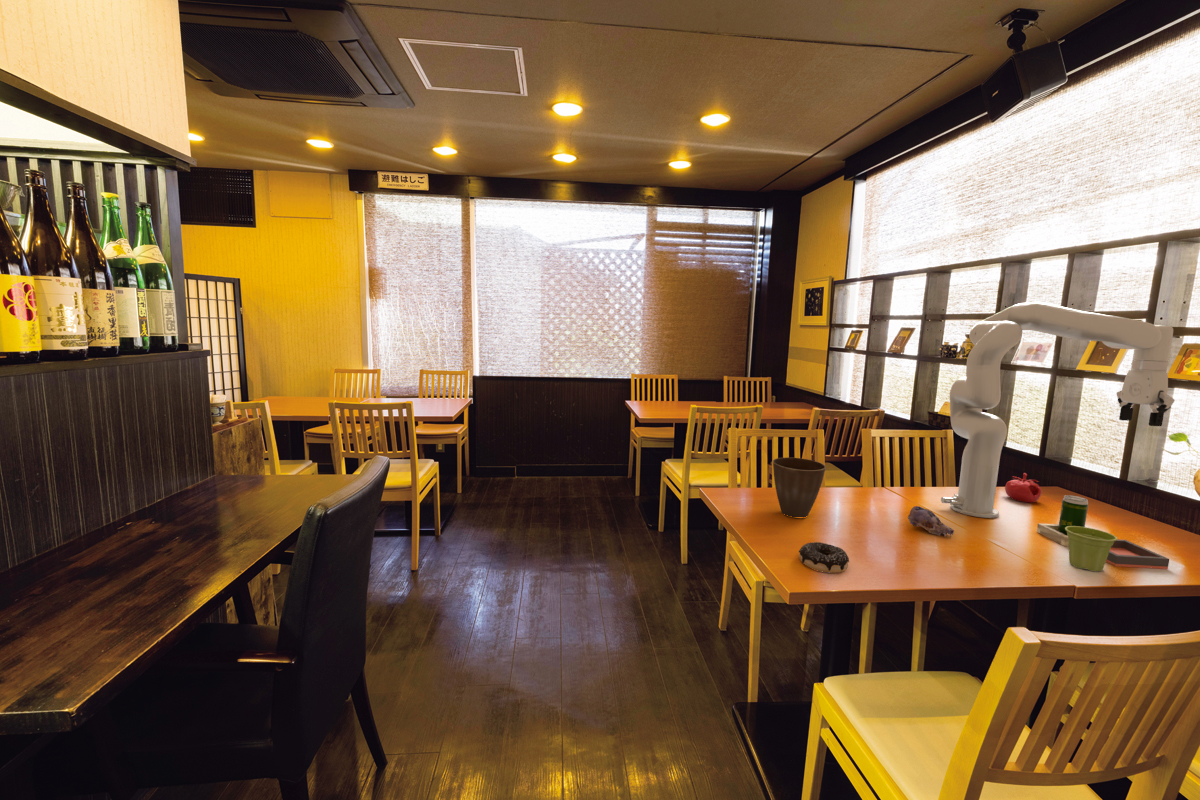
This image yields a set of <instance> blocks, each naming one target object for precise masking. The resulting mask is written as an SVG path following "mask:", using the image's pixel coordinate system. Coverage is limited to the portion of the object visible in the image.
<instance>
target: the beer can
mask: <svg viewBox="0 0 1200 800" xmlns="http://www.w3.org/2000/svg"><path fill="white" fill-rule="evenodd" d="M1060 508H1061V509H1060V514H1059V520H1058V521H1059V522H1058V524H1059V527H1058V532H1060V533H1063V534H1065V535H1067V531H1066V530H1065V527H1067V526H1080V527H1086V523H1087V522H1086V520H1087V516H1088V515H1087V514H1088V508H1089V500H1088V499H1087V498H1085V497H1082V496H1076V495H1070V494H1069V495H1068V494H1066V495H1063V498H1062V501H1061V507H1060Z"/></svg>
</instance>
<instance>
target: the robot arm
mask: <svg viewBox="0 0 1200 800" xmlns="http://www.w3.org/2000/svg"><path fill="white" fill-rule="evenodd" d="M1023 331H1034V332H1039V333H1043V334H1049V335H1052V336H1057V337H1060V338H1065V339H1070V340H1076V341H1084V342H1085V341H1087V342H1091V341H1092V342H1102V344H1103V345H1105V346H1107V347H1108V348H1111V349H1117V350H1119V349H1121V350H1133V354H1132V361H1131V363H1130V364H1131V367H1130V369H1129V370H1128V371H1127V373H1126V376H1125V378H1124V381H1123V383H1122V387H1121V388H1122V389H1121V390H1119V391H1117V392H1116V397H1117V402H1118V406H1119V407H1120V413H1119V418H1118V419H1119V421H1128V422H1129V421H1130V422H1131V421H1132V419H1133V415H1134V414H1133V413H1134V407H1133V406H1135V405H1142V406H1149V407H1150V408H1151V410H1152V411H1151V412H1150V413H1149V419H1148V426H1150V427H1162V426H1163V421H1164V415H1165V414H1166V413H1168V410H1170V409H1171V407H1172V405H1173V404H1174V403H1175V401H1176V400H1175V399H1174V398H1173V396H1170V395H1169V394H1168V389H1169V375H1168V374H1169V373H1168V372H1167V370H1168V364H1169V360H1170V354H1171V348H1172V343H1173V342H1172V341H1173V335H1174V328H1173V326H1170V325H1165V324H1164V325H1163V324H1153V323H1151V322H1147V321H1141V320H1137V319H1133V318H1128V317H1122V316H1116V315H1108V314H1103V313H1096V312H1089V311H1085V310H1080V309H1074V308H1070V307H1065V306H1062V305H1059V304H1058V305H1057V304H1052V303H1048V302H1042V301H1041V302H1040V301H1032V302H1020V303H1017V304H1013V305H1011V306H1009V307H1007V308H1005V309H1003V310H1001V311H999V312H997V313H995V314H992V315H990V316H989V317H986V318H985V319H983V320H981V321H979V322H977V323H976V324H974V325H973V327H972V328H971V330H970V331H969V334H968V335H969V341H970V342H971V343H972V344H973V345H974V346H973V347H972V348H971V350H970V352H969V354H968V356H967V358H966V359H967V360H966V369H965V376H963V377H962V376H961V377H960V378H958V379H957V380H955V381H954V382H953V384H952V385H951V387H950V391H949V411H950V412H949V413H950V417H949V418H950V424H951V425H950V426H951V428H952V430H953V432H954V433H955V434H956V435H958V436H960V438H964V439H966V440H967V443H966V445H965V446H964V449H963V452H962V457H961V466H960V474H959V475H960V476H959V482H958V492H957V494H955V493H954V494H953V496H951V497H948V496H942V497H941V498H940V502H941V503H942V504H949V505H950V509H952V510H953V511H955V512H956V513H957V512H958V513H960V514H962V515H966V516H971V517H976V518H985V519H986V518H987V519H993V518H994V519H995V518H998V517H999V516H1000V512H999V511H998V510H997V509H996V508H994V507H995V506H994V504H995V497H996V489H997V484H998V483H997V482H998V474H999V468H1000V467H999V466H1000V461H1001V460H1000V459H1001V454H1002V450H1003V446H1004V444H1005V441H1006V438H1007V435H1008V427H1007V425H1006V423H1005V422H1004V420H1003V419H1002V418H1001V417H1000V416H998V415H994V414H992V413H989V412H983V410H991V409H993V408H996V407H998V405H999V403H1000V401H1001V397H1002V396H1001V395H1002V393H1001V363H1002V360H1003V358H1004V356H1005V355H1006V354H1007V353H1008V351H1009V350H1011V349H1013V347H1015V346H1016V345H1017V344H1018V343H1019V342H1020V341H1021V339H1022V336H1023Z"/></svg>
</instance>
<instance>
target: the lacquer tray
mask: <svg viewBox="0 0 1200 800" xmlns="http://www.w3.org/2000/svg"><path fill="white" fill-rule="evenodd" d="M1105 563H1108V564H1110V565H1112V566H1115V567H1125V568H1126V567H1128V568H1142V569H1143V568H1144V569H1158V570H1159V569H1160V570H1168V569H1169V564H1170V558H1168V557H1166V556H1163V555H1161V554H1159V553H1157V552H1154V551H1152V550H1150V549H1148V548H1145V547H1143V546H1141V545H1138V544H1136V543H1134V542H1132V541H1129V540H1127V539H1118V538H1117V540H1116V541H1114V543H1113V545H1112V546H1111V548H1110V551H1109V554H1108V556H1107V559H1106V562H1105Z"/></svg>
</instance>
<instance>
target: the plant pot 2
mask: <svg viewBox="0 0 1200 800" xmlns="http://www.w3.org/2000/svg"><path fill="white" fill-rule="evenodd" d="M1065 530H1066V531H1067V536H1068V539H1069V546H1068V559H1069V562H1068V563H1070V565H1072V566H1074V567H1075V568H1077V569H1085V570H1088V571H1091V572H1102V571H1103V569H1104V567H1105V565H1106V563H1107V562H1106V559H1107V556H1108V554H1109V551H1110V548H1111V546H1112V545H1113V543H1114V541H1116V540H1117V539H1118V537H1117V536H1115V535H1114V534H1112V533H1109V532H1107V531H1104V530H1100V529H1096V528H1092V527H1086V526H1085V527H1080V526H1067V527H1065Z"/></svg>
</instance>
